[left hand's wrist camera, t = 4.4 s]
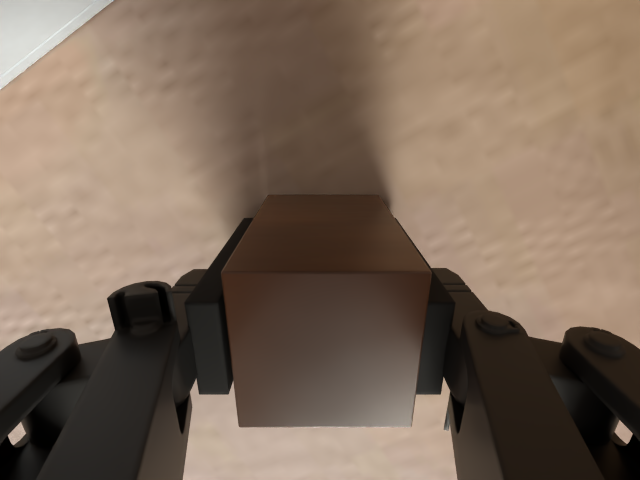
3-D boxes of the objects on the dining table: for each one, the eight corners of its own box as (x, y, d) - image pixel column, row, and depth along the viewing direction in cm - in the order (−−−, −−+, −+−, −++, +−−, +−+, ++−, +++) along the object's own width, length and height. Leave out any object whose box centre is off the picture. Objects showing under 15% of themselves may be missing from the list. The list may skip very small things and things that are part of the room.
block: (379, 194, 14) (432, 272, 7) (372, 292, 15) (411, 428, 9) (267, 194, 14) (220, 272, 7) (273, 292, 15) (238, 428, 9)
